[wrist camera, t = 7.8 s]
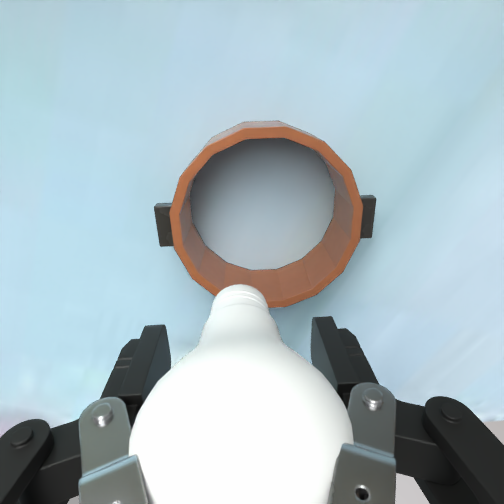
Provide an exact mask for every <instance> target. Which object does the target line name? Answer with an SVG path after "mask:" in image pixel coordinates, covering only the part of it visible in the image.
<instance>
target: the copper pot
mask: <svg viewBox="0 0 504 504" xmlns="http://www.w3.org/2000/svg"><path fill="white" fill-rule="evenodd" d="M264 138H286V139H289V140H291V141H294V142H296V143H299V144H301V145H304V146H306V147H309V148H311V149H313V150H314V151H315V152H316V153H317V154H318V155H319V157H320V158H321V159H322V160H323V161H324V162H325V163H326V166H327V168H328V171H329V174H330V177H331V180H332V182H333V185H334V188H335V195H334V211H333V218H332V220H331V222H330V224H329V226H328V228H327V230H326V232H325V235H324V237H323V239H322V241H321V242H320V243H319V244H318V245H316V246H315V247H314V248H313V249H312V250H311V251H310V252H309V253H308V254H307V255H306V256H305V257H303V258H302V259H301V260H298V261H296V262H293V263H291V264H288V265H286V266H284V267H281V268H279V269H271V270H248V269H245V268H242V267H239V266H236V265H233V264H230V263H227V262H225V261H224V260H223V259H221V258H220V257H219V256H218V255H217V254H215V253H214V252H213V251H212V250H210V249H209V248H208V247H207V246H205V244H204V242H203V240H202V239H201V237H200V235H199V233H198V231H197V230H196V228H195V226H194V224H193V222H192V213H191V203H190V192H191V189H192V186H193V182H194V179H195V176H196V174H197V173H198V172H199V171H200V169H201V168H202V167H203V166H204V165H205V164H206V162H207V161H208V160H209V159H210V158H211V157H212V156H213V155H214V154H216V153H218V152H221V151H223V150H225V149H227V148H229V147H231V146H233V145H235V144H237V143H239V142H241V141H244V140H246V139H264ZM375 205H376V198H375V197H374V196H373V195H361V196H360V195H359V192H358V189H357V186H356V183H355V180H354V177H353V174H352V171H351V169H350V168H349V167H348V166H347V165H346V164H345V163H344V162H343V161H342V160H341V159H340V158H339V156H338V155H337V154H336V153H335V152H334V151H333V150H332V149H331V148H330V147H329V146H328V145H327V144H326V143H325V142H324V141H322V140H321V139H319V138H317V137H315V136H314V135H312V134H310V133H308V132H305V131H303V130H300V129H298V128H295V127H293V126H290V125H288V124H285V123H283V122H280V121H255V122H242V123H240V124H238V125H236V126H234V127H232V128H230V129H228V130H226V131H224V132H222V133H220V134H218V135H216V136H214V137H212V138H211V139H210V140H209V142H208V143H207V144H206V145H205V146H204V147H203V149H202V150H201V151H200V152H199V153H198V154H197V156H196V157H195V158H194V159H193V160H192V162H191V163H190V164H189V165H188V167H187V168H186V169H185V171H184V172H183V173H182V175H181V176H180V178H179V182H178V185H177V189H176V192H175V195H174V199H173V202H172V203H158V204H156V205H155V206H154V211H155V218H156V224H157V231H158V237H159V244H160V247H162V246H174V249H175V251H176V252H177V254H178V256H179V257H180V259H181V261H182V262H183V264H184V266H185V267H186V269H187V271H188V272H189V274H190V276H191V277H192V279H193V280H195V281H196V282H197V283H199V284H200V285H201V286H203V287H204V288H205V289H206V290H208V291H209V292H210V293H212V294H213V295H214V296H217V294H218V293H219V292H220V291H221V290H223V289H224V288H226V287H229V286H232V285H238V284H243V285H248V286H251V287H254V288H255V289H257V290H258V291H260V292H261V294H262V295H263V296H264V298H265V300H266V303H267V305H268V308H274V307H287V306H289V305H292V304H295V303H297V302H300V301H302V300H305V299H307V298H310V297H312V296H315V295H317V294H318V293H319V292H320V291H322V290H323V289H324V288H325V287H326V286H327V285H328V284H330V283H331V282H332V281H333V280H334V279H335V278H337V277H338V276H339V275H340V274H341V273H342V272H343V271H344V269H345V267H346V265H347V263H348V262H349V260H350V258H351V256H352V254H353V252H354V250H355V248H356V247H357V245H358V243H359V241H360V238H372V231H373V222H374V214H375Z"/></svg>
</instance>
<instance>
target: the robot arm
mask: <svg viewBox="0 0 504 504" xmlns="http://www.w3.org/2000/svg"><path fill="white" fill-rule="evenodd" d="M311 359H312V364H313V366H314V367H315V368H316V369H318V370H319V371H320V372H321V373H322V374H323V375H324V376H325V378H326V379H327V380H328V381H329V382H330V384H331V385H332V386H333V388H334V389H335V391H336V392H337V394H338V395H339V397H340V398H341V400H342V401H343V403H344V405H345V407H346V410H347V413H348V416H349V419H350V421H351V424H352V432H353V442H354V444H353V445H352V444H349V443H343V444H342V446H341V449H340V453H339V455H338V457H337V458H336V462H335V467H334V472H333V477H332V482H331V487H330V492H329V497H328V502H327V504H395V490H396V473H399V474H403V475H407V476H411V477H414V479H415V481H416V482H417V484H418V485H419V487H420V489H421V490H422V492H423V493H424V495H425V497H426V498H427V500H428V501H429V503H430V504H504V445H503V444H502V443H501V442H500V441H499V440H498V439H497V437H496V436H495V435H494V434H493V433H492V432H491V431H490V430H489V429H488V428H487V427H486V426H485V425H484V424H483V423H482V422H481V421H480V419H479V418H478V417H477V416H476V415H475V414H474V413H473V412H472V411H471V410H470V409H469V408H468V407H467V406H465V405H464V404H462V403H461V402H459V401H457V400H455V399H452V398H449V397H443V396H437V397H433V398H430V399H429V400H428V401H427V402H426V404H425V407H424V406H420V405H415V404H410V403H405V402H402V401H399V400H397V399H395V397H394V396H393V394H392V393H391V392H390V391H389V390H388V389H386V388H385V387H383V386H381V385H379V383H378V381H377V379H376V377H375V375H374V373H373V371H372V369H371V367H370V365H369V363H368V361H367V359H366V357H365V356H364V353H363V351H362V348H360V344H359V342H358V340H357V338H356V336H354V335H353V334H352V333H351V332H350V331H349V330H348V329H346V328H343V329H337V327H336V324H335V322H334V320H333V318H332V316H328V317H313V319H312V332H311ZM170 369H171V355H170V349H169V342H168V336H167V330H166V326H165V325H148V326H145V327H144V329H143V332H142V334H141V337H140V339H131V340H130V341H129V342H128V343H127V344H126V345H125V346H124V347H123V348H122V350H121V352H120V354H119V357H118V361H116V364H115V366H114V369H113V370H112V373H111V375H110V377H109V379H108V382H107V384H106V386H105V388H104V391H103V393H102V395H101V397H100V399H99V400H97V401H95V402H93V403H92V404H90V405H89V406H88V407H87V408H86V409H85V410H84V411H83V412H82V414H81V415H80V418H79V419H78V420H75V421H73V422H70V423H67V424H63V425H60V426H57V427H54V428H51V429H50V427H49V425H48V423H47V422H46V421H44V420H41V419H31V420H27V421H24V422H21V423H19V424H17V425H16V426H14V427H12V428H11V429H9V430H8V431H7V432H6V433H5V434H4V435H3V436H2V437H1V438H0V504H67V503H68V501H69V499H70V498H73V497H76V496H78V495H79V504H148V500H147V495H146V491H145V487H144V482H143V478H142V474H141V470H140V465H139V461H138V457H137V454H134V455H132V456H129V440H130V436H131V432H132V428H133V425H134V422H135V419H136V417H137V414H138V412H139V410H140V408H141V407H142V405H143V403H144V402H145V400H146V398H147V397H148V395H149V394H150V392H151V391H152V389H153V388H154V386H155V385H156V383H157V382H158V381H159V380H160V379H161V378H162V377H163V376H164V375H165V374H166V373H167V372H168V371H169V370H170Z"/></svg>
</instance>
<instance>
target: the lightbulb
mask: <svg viewBox="0 0 504 504" xmlns="http://www.w3.org/2000/svg"><path fill="white" fill-rule="evenodd" d="M343 443H349V444H352V445H353V444H354V442H353V432H352V424H351V421H350V419H349V416H348V413H347V410H346V407H345V405H344V403H343V401H342V400H341V398H340V397H339V395H338V394H337V392H336V391H335V389H334V388H333V386H332V385H331V384H330V382H329V381H328V380H327V379H326V378H325V376H324V375H323V374H322V373H321V372H320V371H319V370H318V369H316V368H315V367H314V366H313V365H312V364H310V363H309V362H308V361H307V360H305V359H304V358H303V357H302V356H300V355H299V354H298V353H296V352H295V351H294V350H292V349H291V348H289V347H288V346H286V345H285V344H284V343H283V341H282V339H281V336H280V333H279V330H278V326H277V324H276V322H275V321H274V319H273V318H272V317H271V316H270V313H269V309H268V305H267V303H266V300H265V298H264V296H263V295H262V294H261V292H260V291H258V290H257V289H255V288H254V287H251V286H248V285H243V284H238V285H232V286H229V287H226V288H224V289H223V290H221V291H220V292H219V293H218V294H217V296H216V297H215V299H214V301H213V305H212V308H211V313H210V317H209V318H208V320H207V321H206V323H205V324H204V327H203V329H202V333H201V337H200V341H199V343H198V345H197V347H196V348H195V349H194V350H193V351H191V352H190V353H188V354H187V355H186V356H185V357H184V358H182V359H181V360H180V361H179V362H178V363H177V364H176V365H175V366H174V367H173V368H172V369H170V370H169V371H168V372H167V373H166V374H165V375H164V376H163V377H162V378H161V379H160V380H159V381H158V382H157V383H156V385H155V386H154V388H153V389H152V391H151V392H150V394H149V395H148V397H147V398H146V400H145V402H144V403H143V405H142V407H141V408H140V410H139V412H138V414H137V417H136V419H135V422H134V425H133V428H132V432H131V436H130V440H129V456H132V455H134V454H137V457H138V461H139V465H140V470H141V474H142V478H143V482H144V487H145V491H146V495H147V500H148V504H327V502H328V497H329V492H330V487H331V482H332V477H333V472H334V467H335V462H336V458H337V457H338V455H339V453H340V449H341V446H342V444H343Z"/></svg>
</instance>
